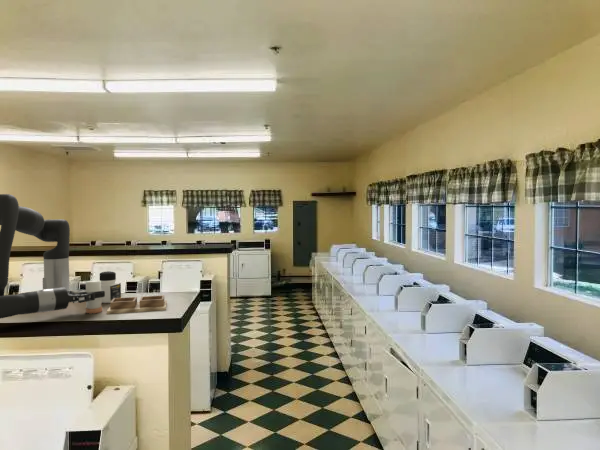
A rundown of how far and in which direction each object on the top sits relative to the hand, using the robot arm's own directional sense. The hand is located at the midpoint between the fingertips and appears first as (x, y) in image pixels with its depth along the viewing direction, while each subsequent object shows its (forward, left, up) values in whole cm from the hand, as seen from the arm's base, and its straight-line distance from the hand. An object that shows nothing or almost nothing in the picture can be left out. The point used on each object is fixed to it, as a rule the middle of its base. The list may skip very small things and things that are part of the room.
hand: (100, 292), depth 167 cm
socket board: (+13, +1, -7) cm, 14 cm away
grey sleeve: (-2, -1, -7) cm, 7 cm away
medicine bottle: (0, +19, -7) cm, 20 cm away
